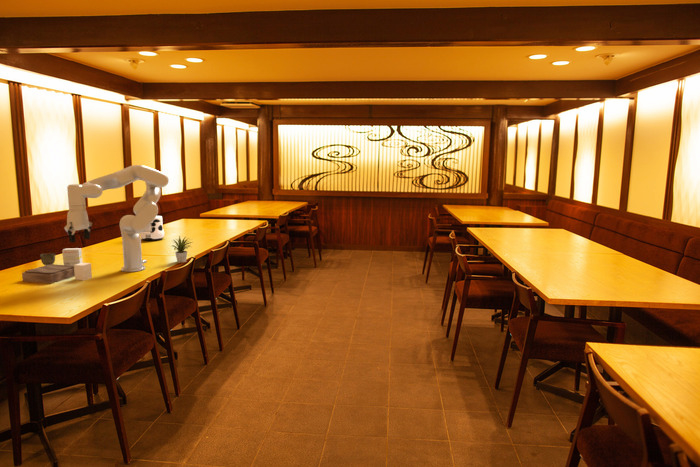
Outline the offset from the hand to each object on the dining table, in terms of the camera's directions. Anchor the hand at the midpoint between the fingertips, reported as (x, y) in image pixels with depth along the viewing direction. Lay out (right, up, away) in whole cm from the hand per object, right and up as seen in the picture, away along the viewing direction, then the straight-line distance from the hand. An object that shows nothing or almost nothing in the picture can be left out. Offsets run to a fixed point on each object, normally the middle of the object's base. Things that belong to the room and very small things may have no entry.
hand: (79, 240), depth 239 cm
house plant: (+37, -14, +44) cm, 59 cm away
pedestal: (-17, -20, +4) cm, 27 cm away
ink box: (-18, -17, +25) cm, 35 cm away
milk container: (-12, -1, +117) cm, 118 cm away
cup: (-34, -16, +27) cm, 46 cm away
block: (0, -20, +4) cm, 21 cm away
